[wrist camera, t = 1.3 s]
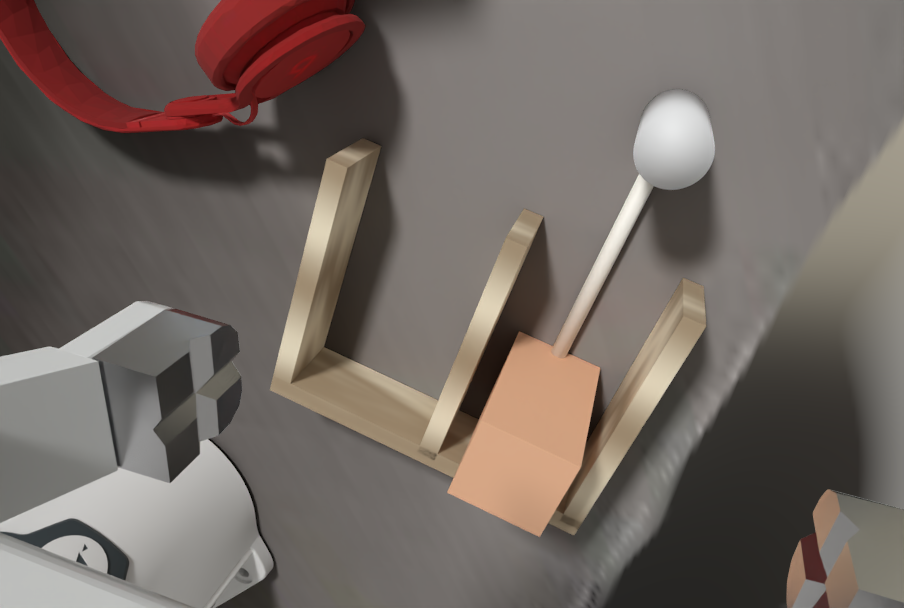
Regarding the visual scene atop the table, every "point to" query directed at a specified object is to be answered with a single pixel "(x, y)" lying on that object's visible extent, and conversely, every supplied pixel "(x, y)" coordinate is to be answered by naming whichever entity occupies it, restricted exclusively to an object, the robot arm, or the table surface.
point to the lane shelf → (440, 422)
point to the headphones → (217, 51)
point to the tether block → (551, 367)
